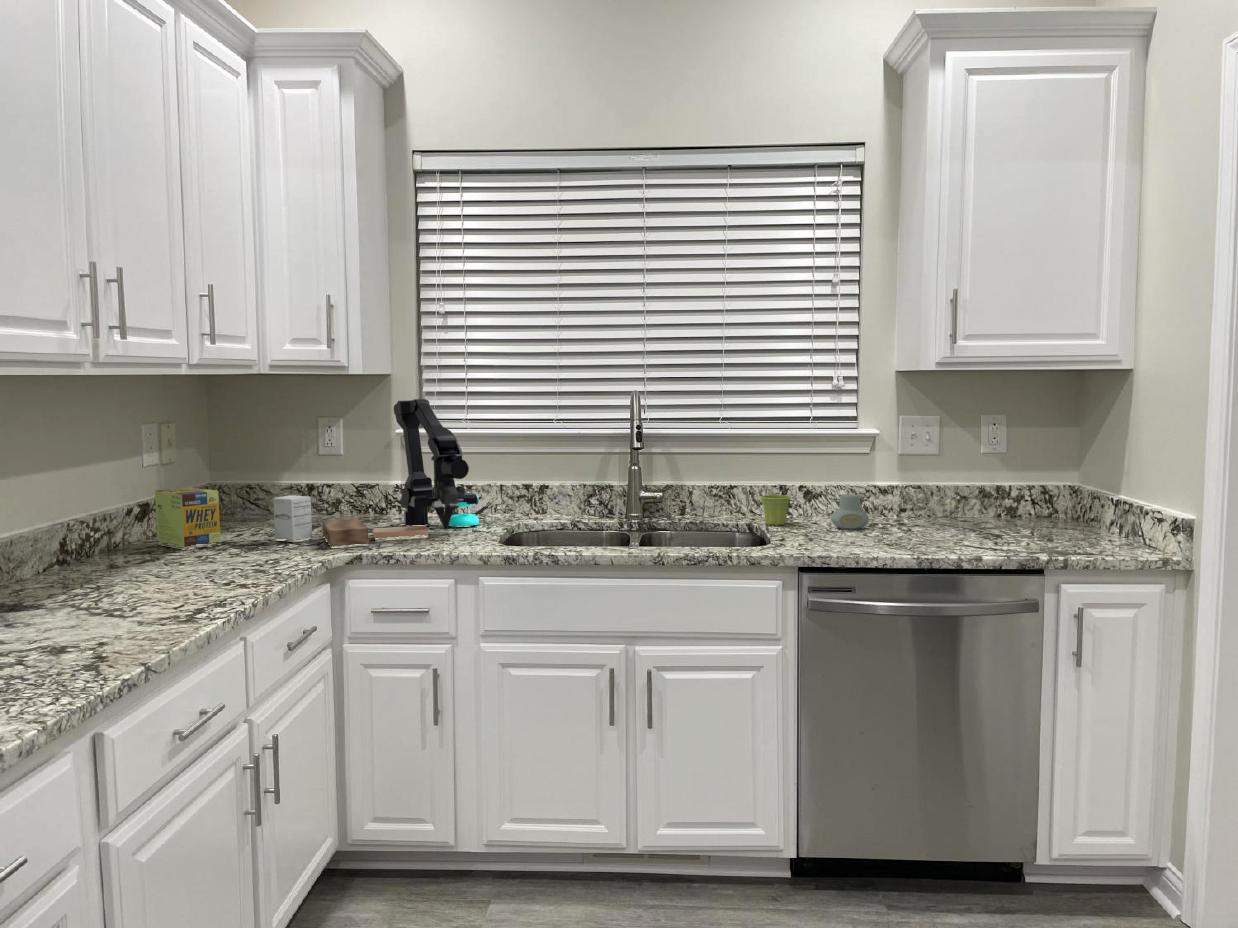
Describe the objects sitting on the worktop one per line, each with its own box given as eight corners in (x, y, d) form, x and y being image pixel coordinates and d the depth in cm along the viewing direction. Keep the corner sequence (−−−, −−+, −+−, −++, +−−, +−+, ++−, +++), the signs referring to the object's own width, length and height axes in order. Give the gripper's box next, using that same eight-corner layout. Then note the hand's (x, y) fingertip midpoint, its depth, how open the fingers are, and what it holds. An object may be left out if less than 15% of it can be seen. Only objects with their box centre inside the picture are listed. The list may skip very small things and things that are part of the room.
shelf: (358, 535, 263) (357, 518, 263) (368, 546, 245) (368, 528, 245) (322, 537, 259) (322, 520, 259) (330, 549, 241) (330, 530, 241)
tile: (426, 535, 264) (426, 525, 264) (428, 540, 257) (428, 529, 256) (373, 538, 260) (373, 528, 260) (374, 543, 253) (373, 532, 252)
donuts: (485, 493, 279) (461, 497, 271) (485, 525, 280) (462, 529, 272) (462, 491, 285) (439, 494, 277) (463, 522, 286) (439, 526, 278)
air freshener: (866, 526, 271) (867, 493, 270) (870, 530, 263) (870, 497, 262) (829, 526, 273) (830, 493, 272) (832, 530, 265) (832, 496, 264)
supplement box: (274, 541, 254) (272, 497, 252) (294, 537, 260) (292, 494, 259) (292, 543, 250) (290, 499, 249) (313, 539, 257) (311, 495, 255)
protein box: (184, 551, 240) (181, 494, 238) (156, 545, 249) (153, 490, 248) (222, 545, 248) (219, 490, 247) (193, 540, 257) (190, 486, 256)
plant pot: (754, 522, 280) (755, 495, 280) (781, 521, 283) (782, 493, 282) (768, 527, 271) (768, 498, 271) (796, 525, 274) (796, 497, 273)
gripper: (417, 480, 251) (419, 535, 252) (482, 477, 259) (483, 530, 260) (409, 477, 261) (411, 530, 263) (472, 474, 269) (473, 525, 270)
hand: (445, 529), depth 264 cm, fingers closed
